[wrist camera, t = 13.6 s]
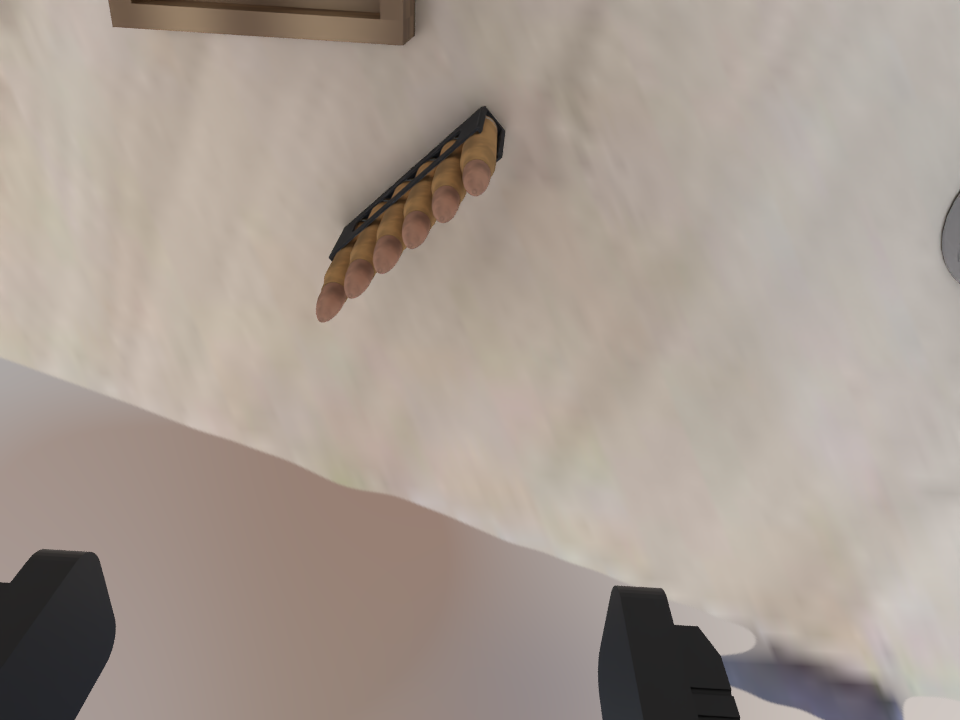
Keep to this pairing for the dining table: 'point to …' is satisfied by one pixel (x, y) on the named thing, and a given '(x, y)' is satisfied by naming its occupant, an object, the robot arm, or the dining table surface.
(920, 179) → the dining table surface
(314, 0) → the wooden box
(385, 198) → the ammunition clip
